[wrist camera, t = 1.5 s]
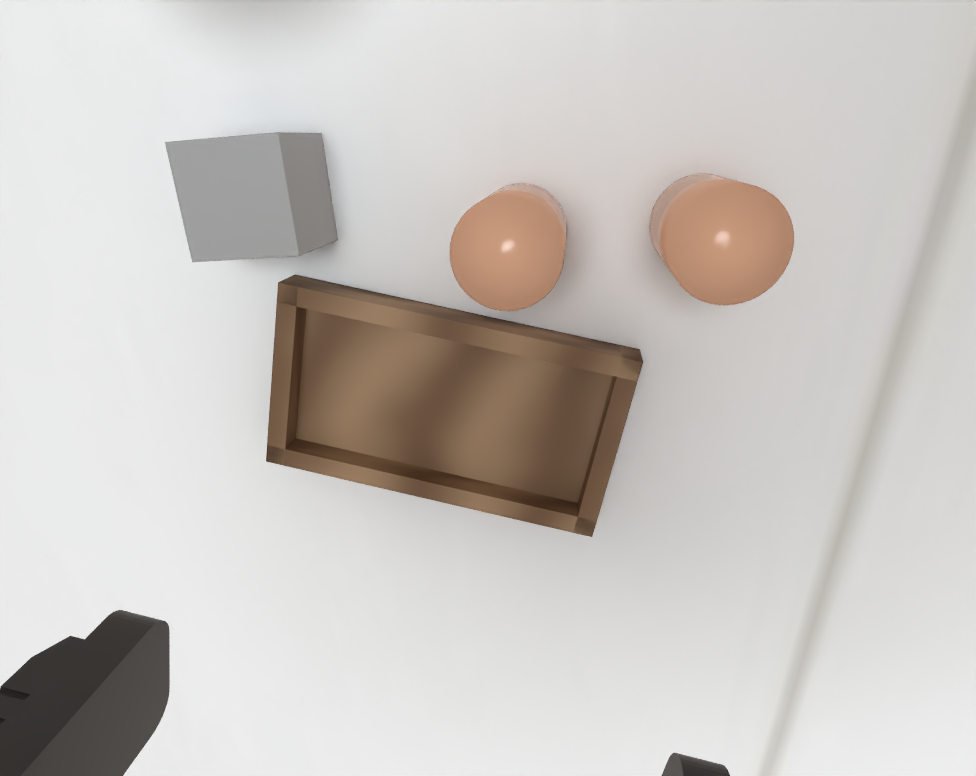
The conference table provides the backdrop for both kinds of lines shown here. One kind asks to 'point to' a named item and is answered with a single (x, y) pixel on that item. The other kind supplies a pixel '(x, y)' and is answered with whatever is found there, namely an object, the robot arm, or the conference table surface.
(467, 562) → the conference table surface
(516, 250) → the clay cylinder
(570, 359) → the tray
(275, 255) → the grey block
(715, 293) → the clay cylinder
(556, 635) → the conference table surface
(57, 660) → the robot arm
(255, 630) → the conference table surface
